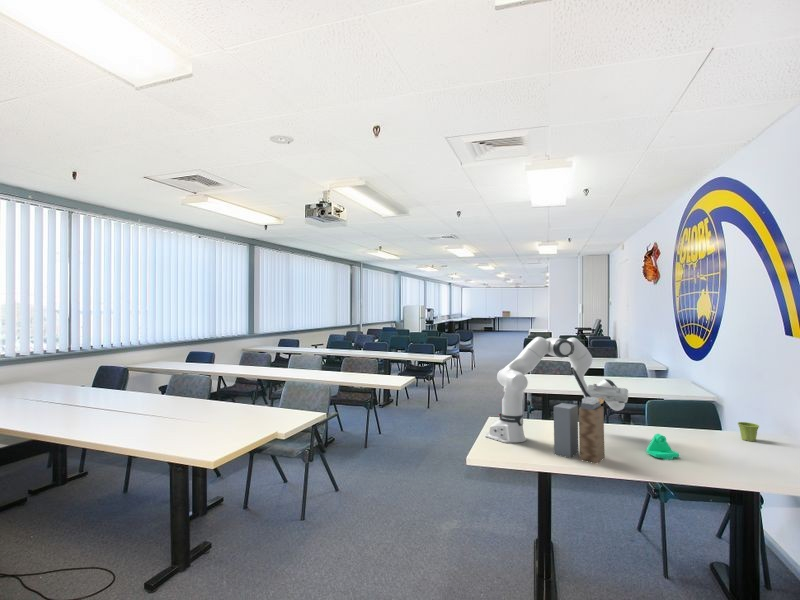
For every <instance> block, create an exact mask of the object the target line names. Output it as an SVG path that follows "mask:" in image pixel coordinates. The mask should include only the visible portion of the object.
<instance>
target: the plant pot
mask: <svg viewBox="0 0 800 600" xmlns="http://www.w3.org/2000/svg"><path fill="white" fill-rule="evenodd" d="M737 426H738V427H739V431H740V438H741V439H742V441H748V442H752V441H753V442H756V441H757V436H758V430H759V428H760V425H759V424H758V423H757V424H756V423H753V422H745V421H739V422H737Z"/></svg>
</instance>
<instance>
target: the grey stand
mask: <svg viewBox="0 0 800 600" xmlns="http://www.w3.org/2000/svg"><path fill="white" fill-rule="evenodd" d="M553 449H554V451H553V453H554V455H555V454H556V456H560V455H561V457H564V456H566V457H565V458H569V457H571V458H573V457H574V456H575V455H577V454H578V453H580V450H579V405H578V404H573V403H566V402H561V403H558V404H555V405H554V406H553ZM576 453H577V454H576ZM573 455H574V456H573Z"/></svg>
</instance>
